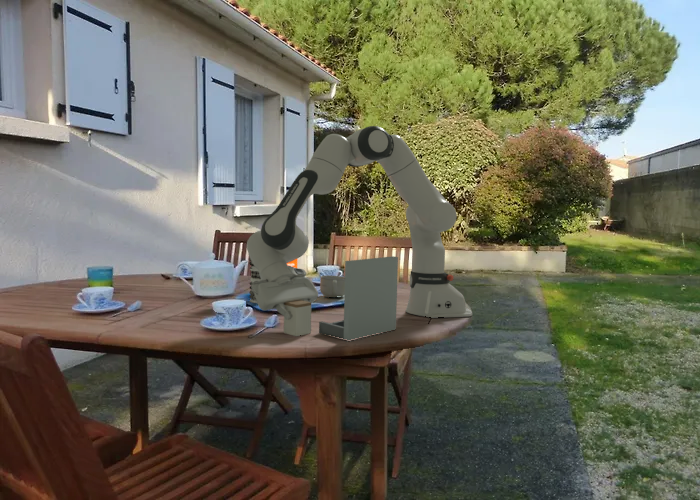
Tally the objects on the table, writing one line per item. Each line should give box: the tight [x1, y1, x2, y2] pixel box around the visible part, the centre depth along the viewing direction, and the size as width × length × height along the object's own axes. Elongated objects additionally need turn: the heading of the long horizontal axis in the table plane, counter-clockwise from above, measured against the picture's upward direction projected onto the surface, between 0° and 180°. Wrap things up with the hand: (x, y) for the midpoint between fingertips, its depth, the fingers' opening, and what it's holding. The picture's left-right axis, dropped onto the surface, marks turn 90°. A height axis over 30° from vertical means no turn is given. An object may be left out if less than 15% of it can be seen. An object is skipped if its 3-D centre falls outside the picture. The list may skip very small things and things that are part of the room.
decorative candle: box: [248, 257, 261, 304], centre depth 206 cm, size 9×9×25 cm
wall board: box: [318, 255, 399, 340], centre depth 163 cm, size 20×12×22 cm, turn 136°
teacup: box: [319, 274, 345, 298], centre depth 217 cm, size 14×11×8 cm
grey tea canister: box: [283, 300, 312, 337], centre depth 161 cm, size 6×6×9 cm
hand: (299, 316), depth 161 cm, fingers closed on grey tea canister, 5 cm apart
